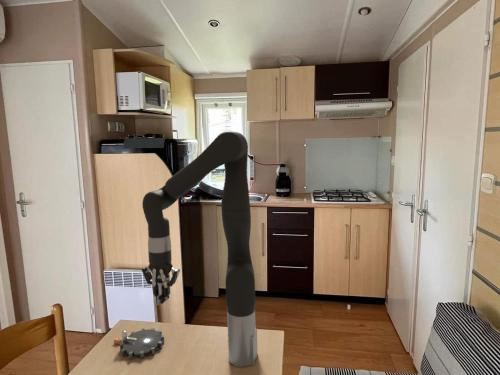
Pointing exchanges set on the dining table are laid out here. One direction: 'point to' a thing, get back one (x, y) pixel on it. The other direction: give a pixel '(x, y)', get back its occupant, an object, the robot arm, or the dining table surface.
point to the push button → (161, 290)
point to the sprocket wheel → (141, 343)
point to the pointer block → (117, 340)
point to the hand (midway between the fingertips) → (161, 295)
